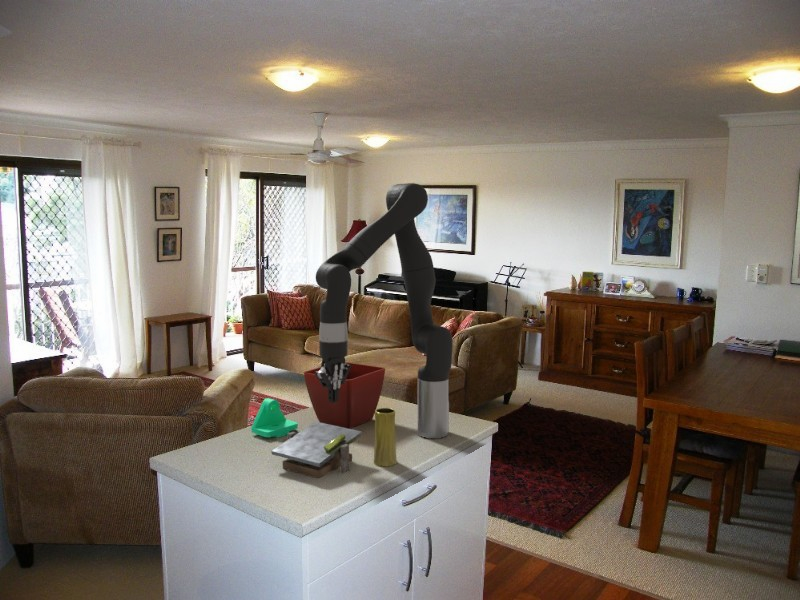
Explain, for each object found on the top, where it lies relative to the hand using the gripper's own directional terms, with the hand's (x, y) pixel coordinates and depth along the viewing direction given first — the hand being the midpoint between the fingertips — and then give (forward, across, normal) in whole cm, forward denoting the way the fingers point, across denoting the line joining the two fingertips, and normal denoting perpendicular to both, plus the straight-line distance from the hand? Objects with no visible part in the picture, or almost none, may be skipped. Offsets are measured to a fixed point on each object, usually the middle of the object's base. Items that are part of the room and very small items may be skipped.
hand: (333, 401), depth 178 cm
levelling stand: (+16, -7, 0) cm, 17 cm away
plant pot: (+16, +27, +17) cm, 36 cm away
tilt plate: (+10, -7, 0) cm, 12 cm away
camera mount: (+16, +6, +27) cm, 32 cm away
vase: (+16, +4, -14) cm, 21 cm away
